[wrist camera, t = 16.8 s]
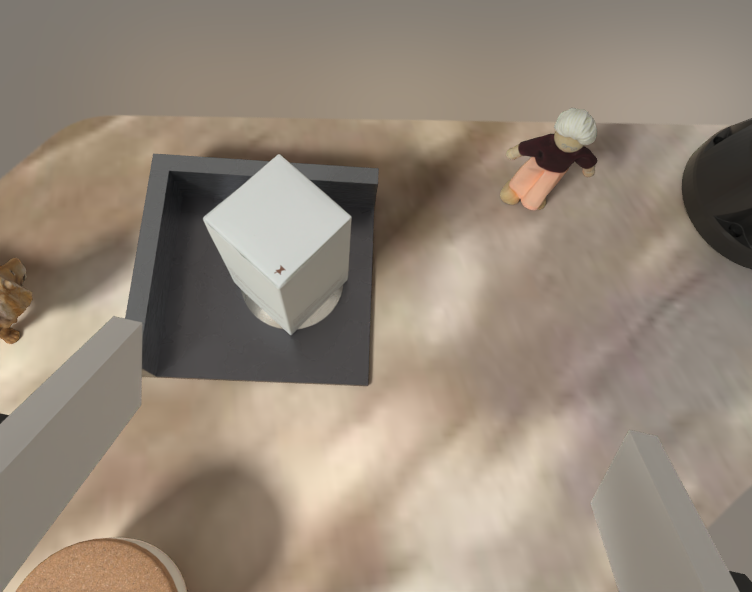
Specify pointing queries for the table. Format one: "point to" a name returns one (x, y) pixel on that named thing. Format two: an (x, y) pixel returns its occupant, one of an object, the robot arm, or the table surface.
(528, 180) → the grandmother figurine
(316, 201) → the supplement box
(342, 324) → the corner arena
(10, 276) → the lion figurine
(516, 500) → the table surface
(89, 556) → the lidded jar
